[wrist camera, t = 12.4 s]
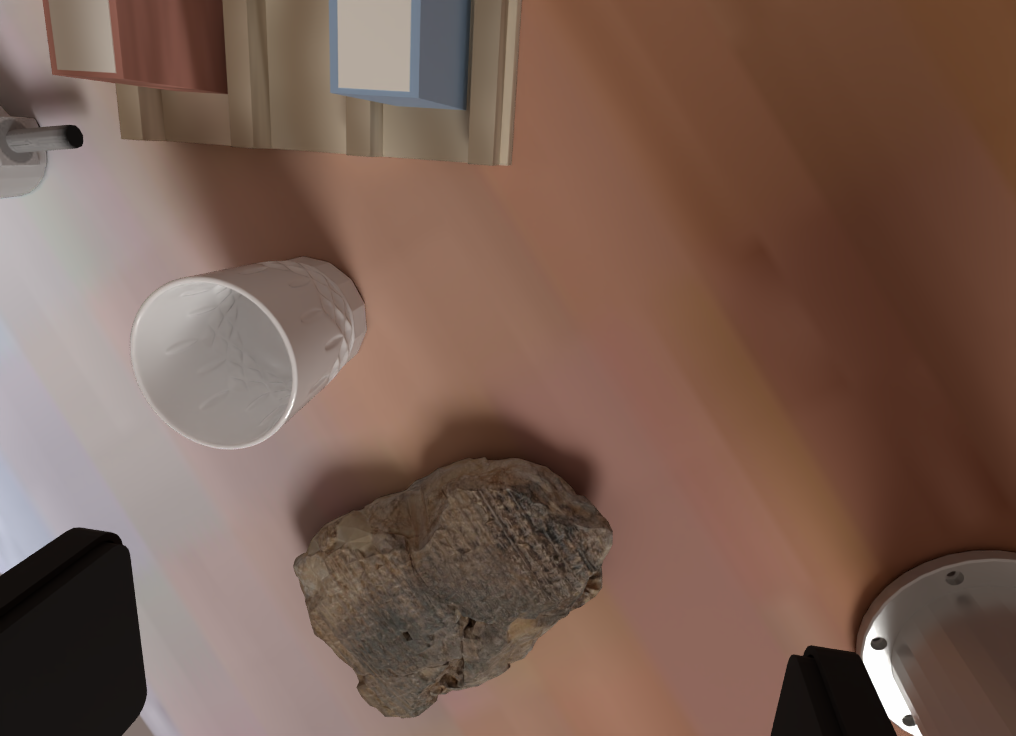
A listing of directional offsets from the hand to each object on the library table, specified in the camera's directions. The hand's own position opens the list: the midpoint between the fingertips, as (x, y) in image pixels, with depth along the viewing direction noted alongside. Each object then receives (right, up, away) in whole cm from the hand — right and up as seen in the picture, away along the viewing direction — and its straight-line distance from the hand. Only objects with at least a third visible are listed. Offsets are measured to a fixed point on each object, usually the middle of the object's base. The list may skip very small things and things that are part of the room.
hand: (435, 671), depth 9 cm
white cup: (-10, +7, +30) cm, 32 cm away
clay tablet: (-1, -8, +33) cm, 34 cm away
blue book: (-2, +21, +23) cm, 31 cm away
